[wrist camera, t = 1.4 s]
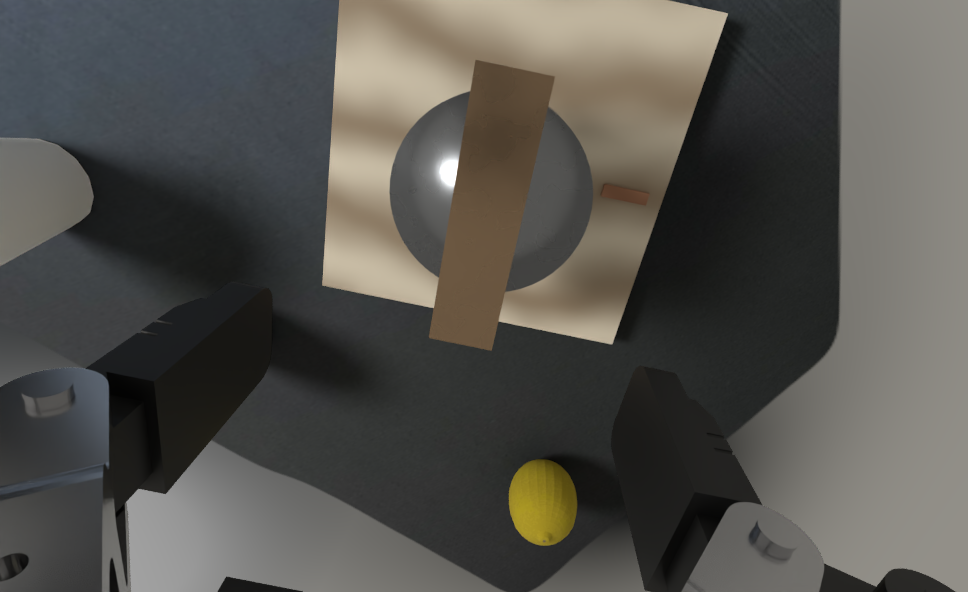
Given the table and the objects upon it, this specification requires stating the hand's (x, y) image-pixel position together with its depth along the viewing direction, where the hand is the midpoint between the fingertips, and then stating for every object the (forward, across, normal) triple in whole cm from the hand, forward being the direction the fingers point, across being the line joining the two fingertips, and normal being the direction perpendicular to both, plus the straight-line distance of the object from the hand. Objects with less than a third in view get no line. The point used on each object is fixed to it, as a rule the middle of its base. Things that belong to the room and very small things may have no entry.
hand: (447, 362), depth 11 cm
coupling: (+24, 0, 0) cm, 24 cm away
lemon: (+26, -9, +25) cm, 37 cm away
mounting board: (+25, 0, 0) cm, 25 cm away
